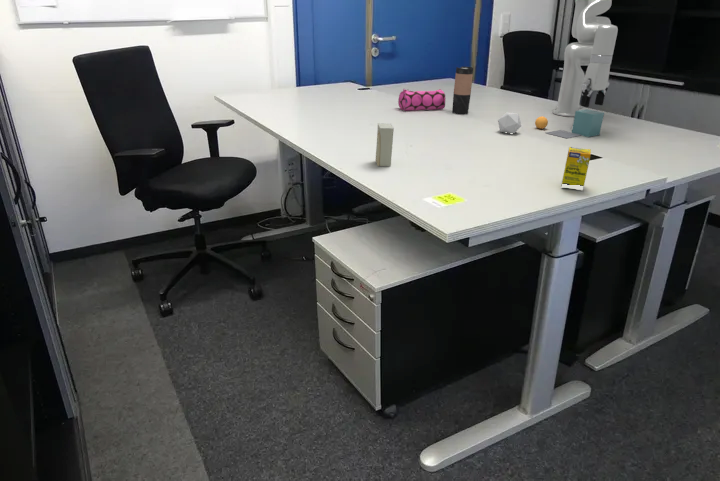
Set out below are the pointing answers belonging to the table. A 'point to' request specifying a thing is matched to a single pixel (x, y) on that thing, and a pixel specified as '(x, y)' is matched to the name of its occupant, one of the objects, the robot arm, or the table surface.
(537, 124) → the ball
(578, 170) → the supplement box
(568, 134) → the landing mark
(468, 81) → the travel mug
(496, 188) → the table surface
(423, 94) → the pencil case
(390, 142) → the skincare box
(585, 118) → the teal toy cube
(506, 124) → the die
